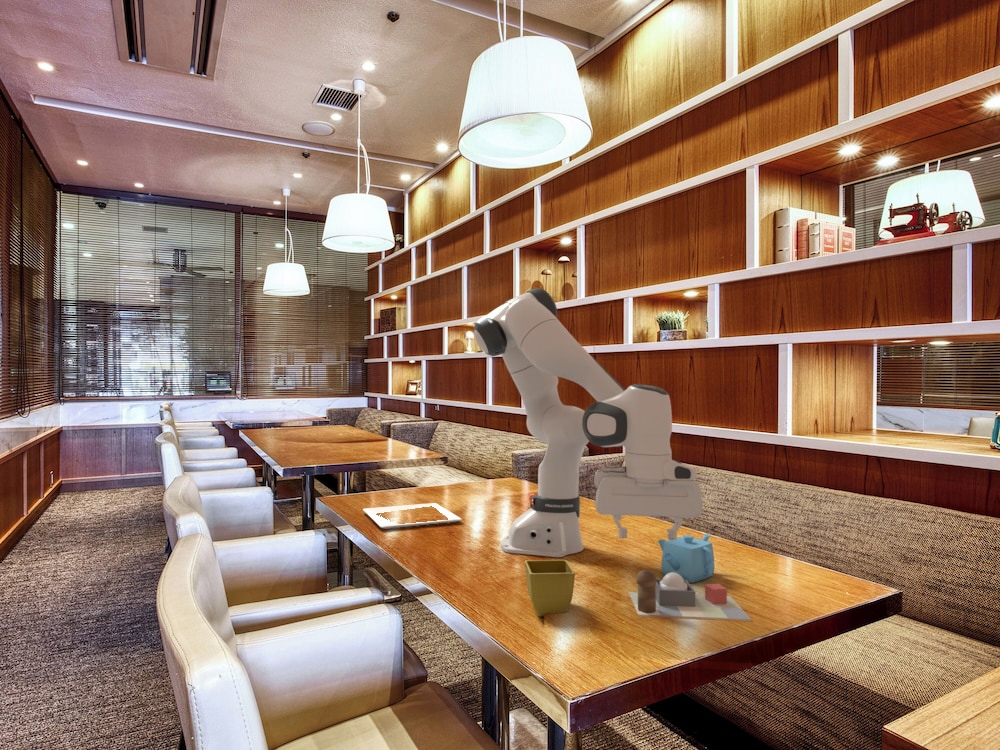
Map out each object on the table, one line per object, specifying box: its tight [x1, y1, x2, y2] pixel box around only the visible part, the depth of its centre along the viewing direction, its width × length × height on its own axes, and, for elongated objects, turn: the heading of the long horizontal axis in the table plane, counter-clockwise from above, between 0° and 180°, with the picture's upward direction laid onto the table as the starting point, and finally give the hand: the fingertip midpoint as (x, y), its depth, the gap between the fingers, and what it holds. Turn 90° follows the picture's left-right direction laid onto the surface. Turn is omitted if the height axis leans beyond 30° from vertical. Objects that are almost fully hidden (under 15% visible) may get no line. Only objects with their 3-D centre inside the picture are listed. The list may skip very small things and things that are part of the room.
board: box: [628, 578, 754, 622], centre depth 115 cm, size 21×13×4 cm, turn 86°
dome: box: [660, 572, 687, 591], centre depth 118 cm, size 5×5×5 cm
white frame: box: [362, 502, 463, 530], centre depth 190 cm, size 26×26×2 cm
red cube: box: [704, 583, 728, 605], centre depth 118 cm, size 3×3×3 cm
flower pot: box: [524, 559, 576, 617], centre depth 114 cm, size 9×9×9 cm
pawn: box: [636, 569, 657, 613], centre depth 113 cm, size 4×4×8 cm
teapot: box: [657, 533, 715, 584], centre depth 134 cm, size 18×14×10 cm
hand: (647, 538), depth 113 cm, fingers open, 8 cm apart
